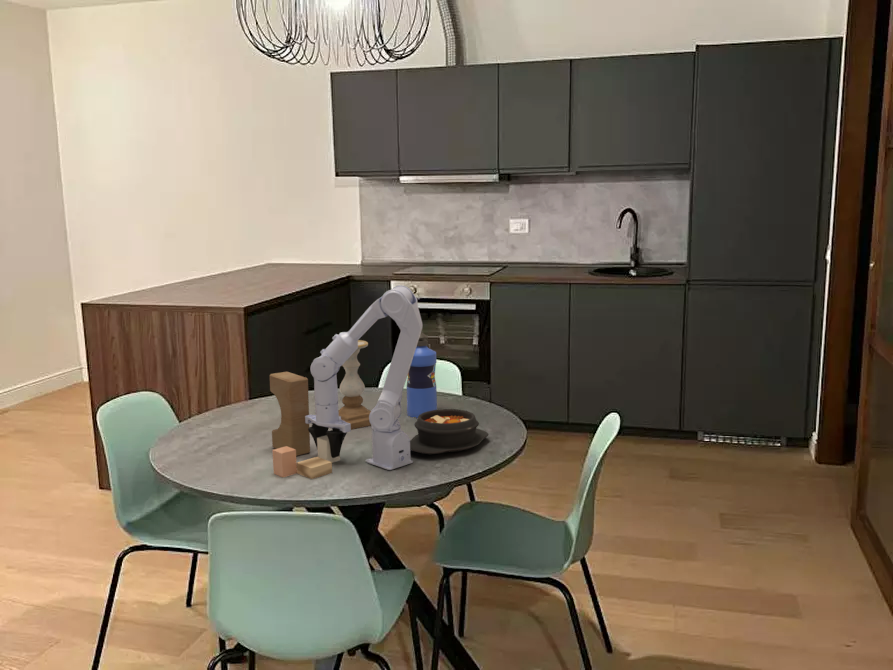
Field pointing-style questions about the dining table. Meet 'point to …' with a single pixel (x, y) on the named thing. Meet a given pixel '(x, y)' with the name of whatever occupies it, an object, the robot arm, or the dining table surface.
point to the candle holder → (353, 393)
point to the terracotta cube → (284, 461)
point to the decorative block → (291, 411)
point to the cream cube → (325, 449)
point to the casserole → (446, 432)
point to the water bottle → (422, 380)
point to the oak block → (314, 467)
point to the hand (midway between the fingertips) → (329, 454)
